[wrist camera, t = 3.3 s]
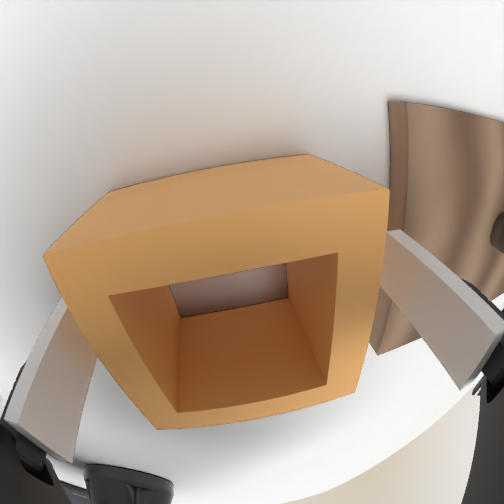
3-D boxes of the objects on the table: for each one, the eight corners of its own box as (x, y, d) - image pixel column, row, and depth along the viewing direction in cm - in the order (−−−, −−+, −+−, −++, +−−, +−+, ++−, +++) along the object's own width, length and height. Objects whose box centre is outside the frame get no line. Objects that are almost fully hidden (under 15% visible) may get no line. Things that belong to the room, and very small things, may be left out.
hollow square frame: (163, 340, 15) (157, 429, 10) (109, 191, 11) (42, 255, 5) (313, 311, 16) (354, 392, 10) (309, 154, 11) (389, 189, 6)
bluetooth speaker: (46, 477, 35) (43, 505, 27) (39, 471, 32) (35, 501, 23) (122, 501, 43) (122, 529, 34) (123, 498, 39) (123, 529, 30)
